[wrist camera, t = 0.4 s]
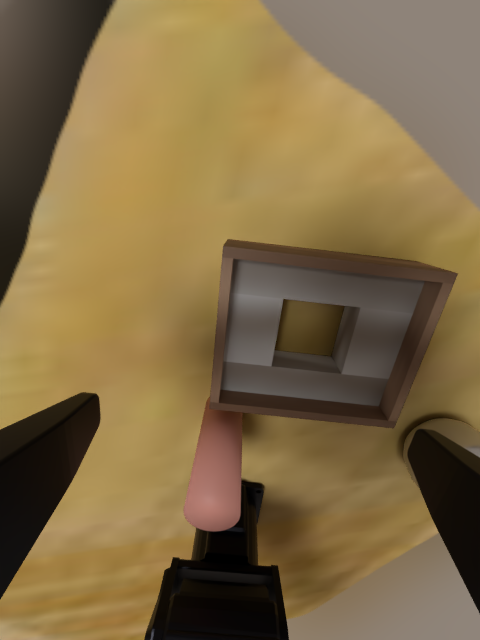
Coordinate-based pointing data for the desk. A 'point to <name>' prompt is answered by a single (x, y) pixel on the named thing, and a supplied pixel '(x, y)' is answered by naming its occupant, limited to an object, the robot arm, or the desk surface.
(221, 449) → the peg
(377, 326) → the square frame
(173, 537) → the desk surface
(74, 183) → the desk surface
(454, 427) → the plastic bottle
